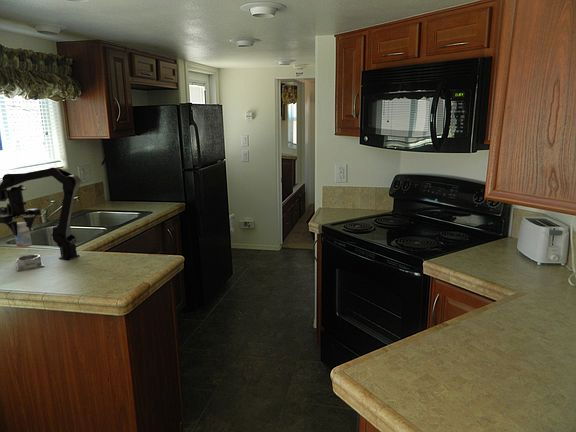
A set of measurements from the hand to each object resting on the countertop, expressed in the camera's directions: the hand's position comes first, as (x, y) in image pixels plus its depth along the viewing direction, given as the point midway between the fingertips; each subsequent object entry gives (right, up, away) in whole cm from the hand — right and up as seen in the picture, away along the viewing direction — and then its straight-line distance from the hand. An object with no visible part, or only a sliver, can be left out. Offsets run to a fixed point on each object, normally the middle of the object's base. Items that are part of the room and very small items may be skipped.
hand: (22, 233), depth 196 cm
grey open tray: (+6, -14, -5) cm, 16 cm away
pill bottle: (0, -6, +1) cm, 6 cm away
